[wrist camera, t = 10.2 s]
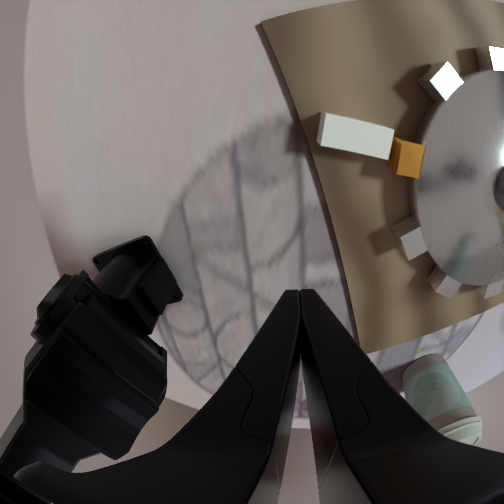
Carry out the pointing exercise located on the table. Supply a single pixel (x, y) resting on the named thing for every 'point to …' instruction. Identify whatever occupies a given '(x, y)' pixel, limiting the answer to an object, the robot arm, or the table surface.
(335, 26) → the sprocket board
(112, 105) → the table surface
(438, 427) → the coffee cup
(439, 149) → the sprocket
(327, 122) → the pale mint brick
